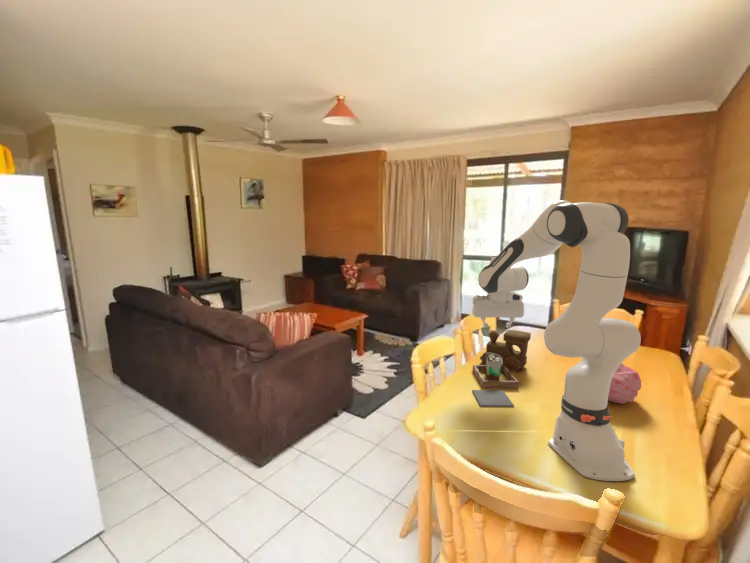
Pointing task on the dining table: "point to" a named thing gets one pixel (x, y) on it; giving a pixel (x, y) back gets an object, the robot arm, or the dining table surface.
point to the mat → (492, 398)
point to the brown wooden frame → (488, 384)
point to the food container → (493, 366)
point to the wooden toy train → (509, 348)
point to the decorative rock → (624, 385)
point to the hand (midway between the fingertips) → (496, 327)
